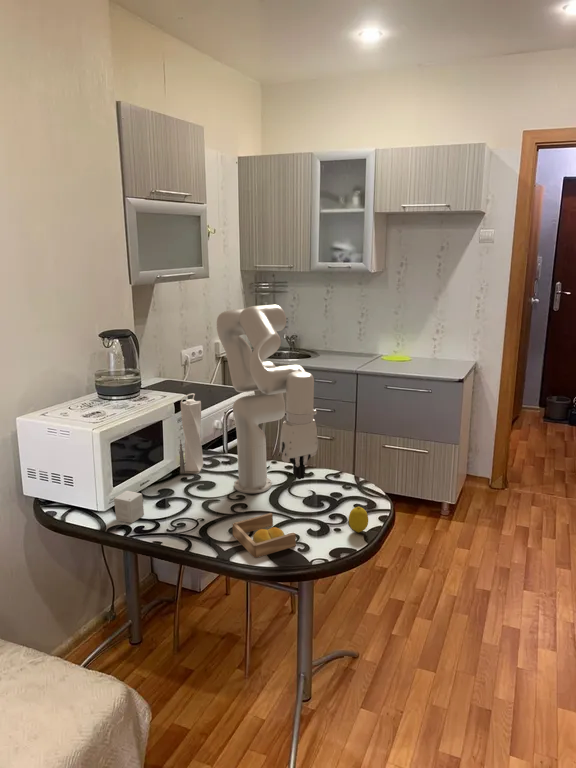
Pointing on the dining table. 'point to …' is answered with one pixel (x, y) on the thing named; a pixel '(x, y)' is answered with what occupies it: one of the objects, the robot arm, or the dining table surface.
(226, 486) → the dining table surface
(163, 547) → the dining table surface
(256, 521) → the bay
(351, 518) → the lemon
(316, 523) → the dining table surface
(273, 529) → the bread roll
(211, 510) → the dining table surface
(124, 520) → the product box
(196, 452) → the skyscraper
